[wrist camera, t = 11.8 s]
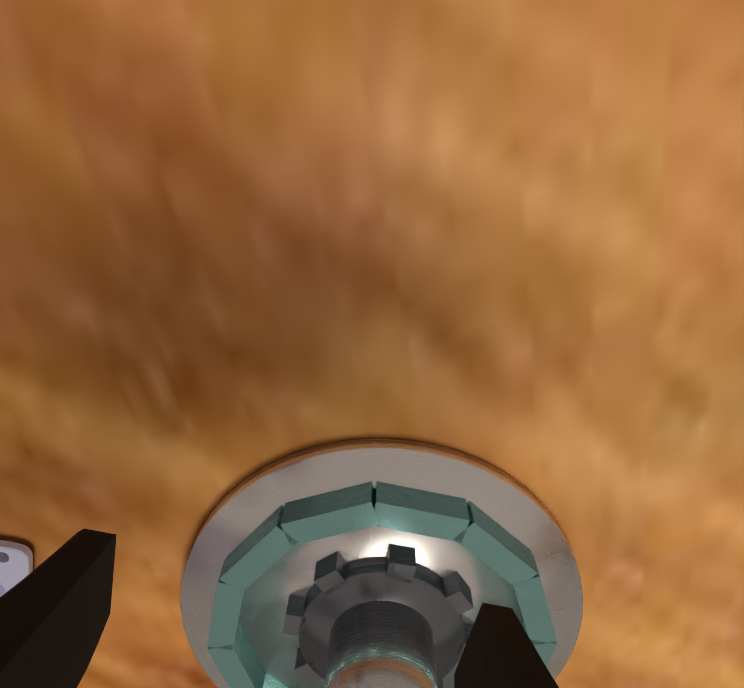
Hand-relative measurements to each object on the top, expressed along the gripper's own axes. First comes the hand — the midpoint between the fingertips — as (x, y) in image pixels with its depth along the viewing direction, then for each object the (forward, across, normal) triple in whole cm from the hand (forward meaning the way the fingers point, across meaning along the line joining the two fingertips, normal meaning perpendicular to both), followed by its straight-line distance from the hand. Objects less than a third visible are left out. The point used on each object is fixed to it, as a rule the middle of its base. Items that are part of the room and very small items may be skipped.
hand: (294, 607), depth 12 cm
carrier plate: (+10, -4, +10) cm, 15 cm away
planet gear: (+10, -4, +10) cm, 14 cm away
